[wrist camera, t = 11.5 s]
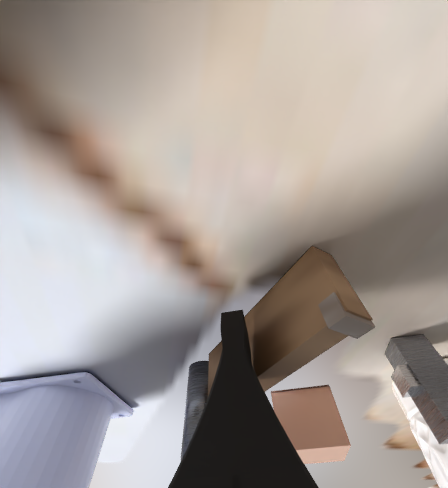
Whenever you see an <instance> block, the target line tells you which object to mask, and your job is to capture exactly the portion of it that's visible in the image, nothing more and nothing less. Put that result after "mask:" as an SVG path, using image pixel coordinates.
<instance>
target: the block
mask: <svg viewBox="0 0 448 488" xmlns="http://www.w3.org/2000/svg"><path fill="white" fill-rule="evenodd" d="M271 395H272V402H273V408H274V412H275V414H276V416H277V417H278V419H279V421H280V423H281V425H282V426H283V428H284V430H285V432H286V434H287V435H288V437H289V439H290V441H291V443H292V444H293V446H294V448H295V450H296V451H297V453H298V455H299V456H300V458H301V460H302V461H303V463H304V464H310V463H323V462H335V461H344V460H345V457H346V455H347V453H348V451H349V448H350V446H351V445H350V442H349V439H348V436H347V434H346V431H345V428H344V425H343V423H342V420H341V417H340V414H339V411H338V409H337V406H336V403H335V401H334V397H333V395H332V392H331V390H330V387H329V385H321V386H313V387H304V388H296V389H287V390H278V391H271Z"/></svg>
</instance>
